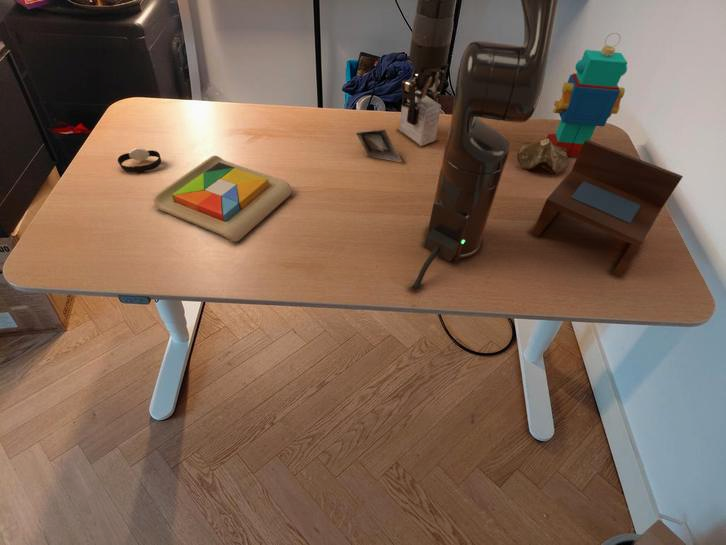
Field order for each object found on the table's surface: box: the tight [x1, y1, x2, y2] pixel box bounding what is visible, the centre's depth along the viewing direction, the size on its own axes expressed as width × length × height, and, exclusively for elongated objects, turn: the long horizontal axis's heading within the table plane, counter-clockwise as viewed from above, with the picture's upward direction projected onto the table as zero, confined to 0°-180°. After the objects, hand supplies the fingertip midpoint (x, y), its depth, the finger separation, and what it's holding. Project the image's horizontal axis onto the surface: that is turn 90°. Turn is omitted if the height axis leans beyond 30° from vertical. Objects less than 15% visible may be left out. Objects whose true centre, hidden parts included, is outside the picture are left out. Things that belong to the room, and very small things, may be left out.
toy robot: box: [546, 32, 628, 158], centre depth 96 cm, size 12×6×25 cm, turn 84°
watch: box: [117, 147, 162, 174], centre depth 92 cm, size 8×5×4 cm, turn 108°
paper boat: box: [355, 129, 403, 163], centre depth 98 cm, size 12×6×9 cm
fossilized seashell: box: [516, 138, 570, 175], centre depth 99 cm, size 8×7×10 cm
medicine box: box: [398, 90, 442, 147], centre depth 103 cm, size 8×4×9 cm, turn 35°
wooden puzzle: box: [153, 155, 292, 242], centre depth 87 cm, size 17×19×4 cm
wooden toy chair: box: [532, 139, 684, 277], centre depth 81 cm, size 12×16×14 cm
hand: (419, 117), depth 103 cm, fingers closed on medicine box, 5 cm apart
